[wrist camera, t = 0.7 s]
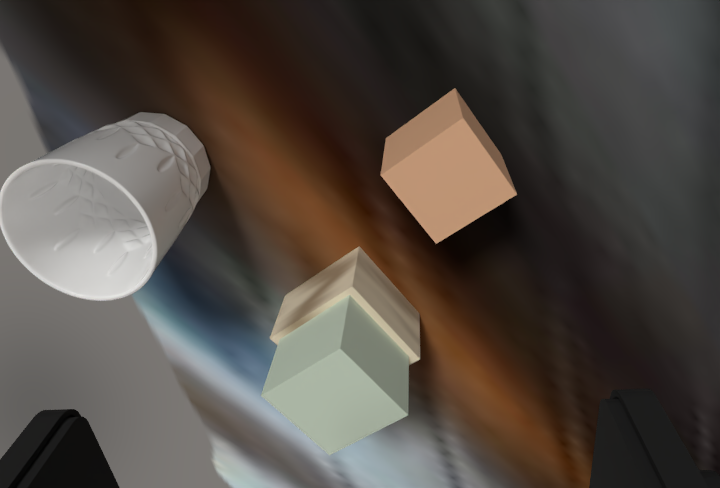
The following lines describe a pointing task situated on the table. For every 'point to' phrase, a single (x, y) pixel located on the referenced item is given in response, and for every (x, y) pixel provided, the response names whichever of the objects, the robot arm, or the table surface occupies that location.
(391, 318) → the beech base block
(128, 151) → the white cup
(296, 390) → the sage top block
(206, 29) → the table surface
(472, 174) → the terracotta block
